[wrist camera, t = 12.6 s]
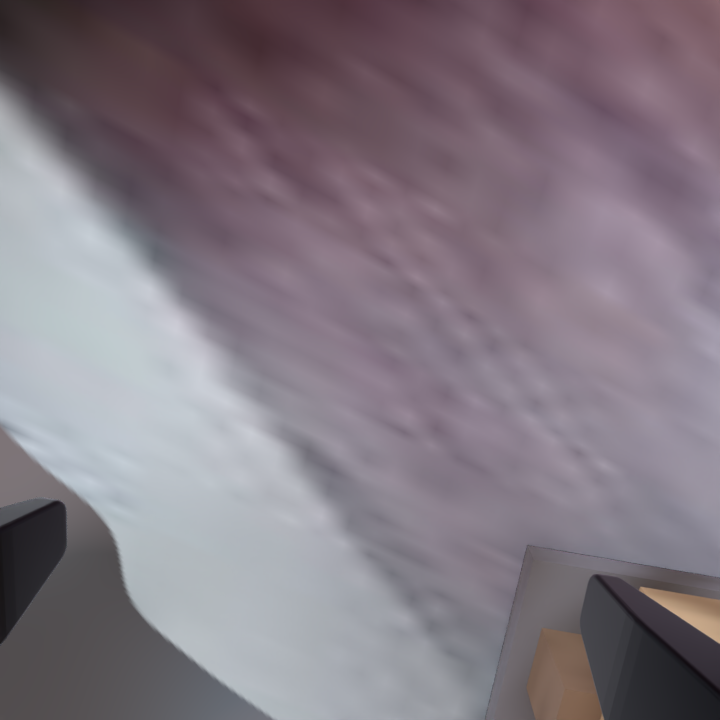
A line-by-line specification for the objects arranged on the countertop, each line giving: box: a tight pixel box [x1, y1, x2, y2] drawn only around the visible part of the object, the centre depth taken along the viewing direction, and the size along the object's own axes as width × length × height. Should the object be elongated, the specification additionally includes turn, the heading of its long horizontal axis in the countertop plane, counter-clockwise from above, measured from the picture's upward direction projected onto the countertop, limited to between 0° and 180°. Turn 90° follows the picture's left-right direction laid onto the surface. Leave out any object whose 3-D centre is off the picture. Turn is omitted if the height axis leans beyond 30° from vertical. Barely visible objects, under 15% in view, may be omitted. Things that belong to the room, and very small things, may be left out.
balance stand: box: [485, 545, 720, 720], centre depth 20 cm, size 9×9×4 cm
